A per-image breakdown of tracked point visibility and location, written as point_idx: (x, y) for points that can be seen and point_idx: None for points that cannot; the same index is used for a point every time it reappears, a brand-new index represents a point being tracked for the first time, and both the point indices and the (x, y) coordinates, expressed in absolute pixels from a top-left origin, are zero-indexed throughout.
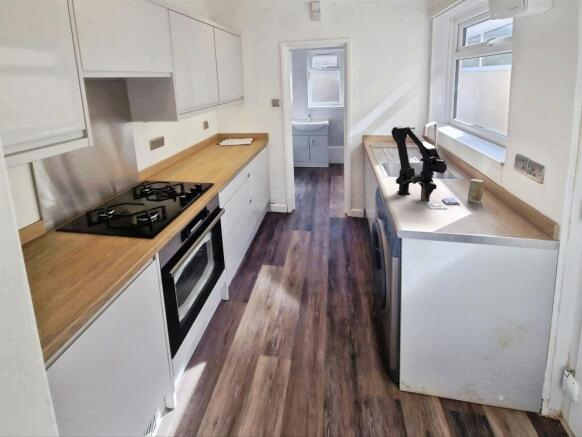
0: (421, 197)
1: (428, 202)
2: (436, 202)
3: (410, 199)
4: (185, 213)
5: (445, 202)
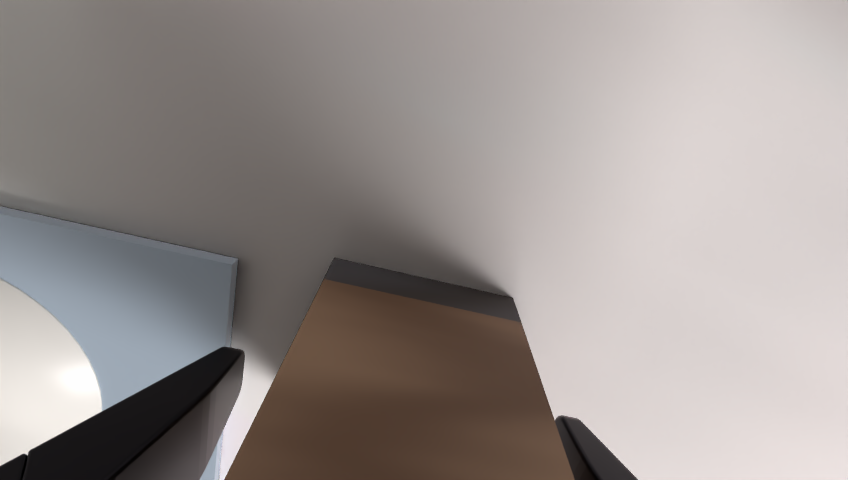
0: (423, 320)
1: (167, 335)
2: None
3: (593, 21)
4: None
5: None
